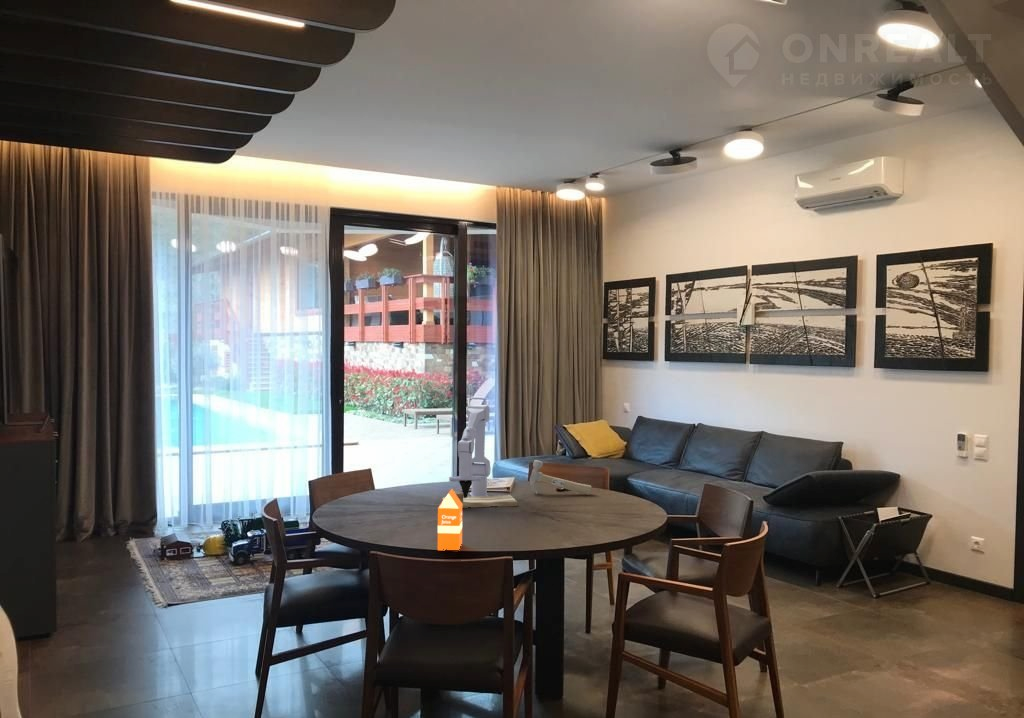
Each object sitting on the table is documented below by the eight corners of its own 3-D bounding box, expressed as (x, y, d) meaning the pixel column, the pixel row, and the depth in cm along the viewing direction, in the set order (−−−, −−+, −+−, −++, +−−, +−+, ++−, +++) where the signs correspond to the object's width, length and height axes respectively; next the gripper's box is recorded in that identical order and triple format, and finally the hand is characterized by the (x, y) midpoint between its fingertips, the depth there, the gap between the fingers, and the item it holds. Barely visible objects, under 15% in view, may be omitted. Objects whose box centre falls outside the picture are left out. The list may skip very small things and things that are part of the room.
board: (442, 501, 323) (442, 497, 323) (510, 499, 330) (510, 494, 330) (445, 508, 309) (445, 503, 309) (516, 505, 316) (517, 501, 316)
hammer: (594, 474, 344) (534, 459, 347) (594, 476, 340) (533, 460, 342) (586, 505, 345) (527, 490, 347) (586, 507, 340) (526, 491, 343)
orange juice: (462, 544, 252) (462, 488, 251) (459, 550, 243) (460, 493, 243) (440, 543, 252) (441, 487, 252) (436, 550, 243) (437, 492, 243)
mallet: (449, 498, 320) (449, 489, 320) (460, 498, 322) (460, 489, 322) (452, 503, 310) (452, 494, 310) (463, 502, 311) (463, 493, 311)
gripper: (450, 468, 308) (450, 499, 309) (483, 468, 312) (482, 498, 312) (448, 466, 315) (448, 496, 315) (480, 465, 318) (480, 495, 319)
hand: (465, 497), depth 314 cm, fingers closed
